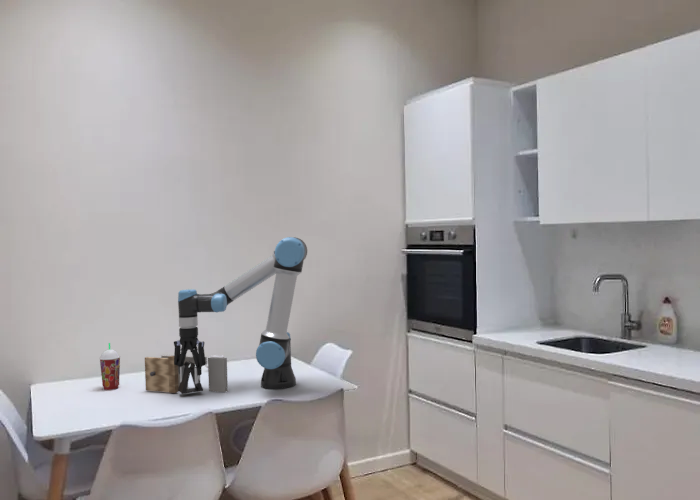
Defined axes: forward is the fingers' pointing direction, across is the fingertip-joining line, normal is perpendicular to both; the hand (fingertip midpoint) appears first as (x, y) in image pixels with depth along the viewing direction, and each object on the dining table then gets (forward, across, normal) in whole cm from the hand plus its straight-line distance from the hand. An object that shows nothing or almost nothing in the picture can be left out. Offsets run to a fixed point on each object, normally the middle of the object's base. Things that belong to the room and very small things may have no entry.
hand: (190, 382), depth 258 cm
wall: (+5, +4, -8) cm, 10 cm away
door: (+5, +15, 0) cm, 15 cm away
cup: (+5, +18, -44) cm, 48 cm away
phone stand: (+4, 0, 0) cm, 4 cm away
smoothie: (+5, +42, 0) cm, 42 cm away
